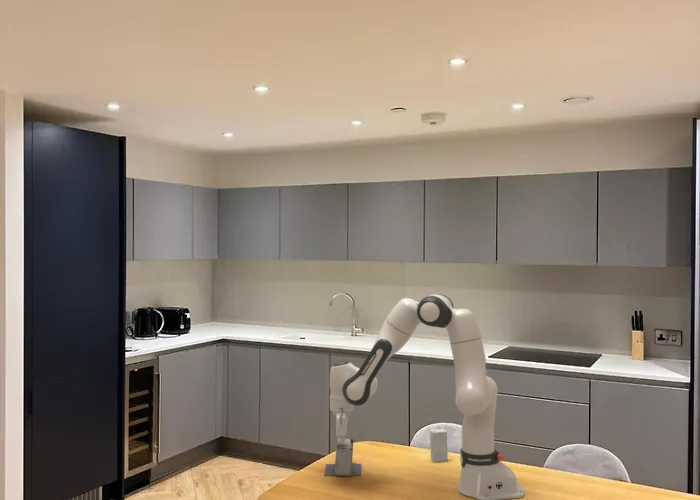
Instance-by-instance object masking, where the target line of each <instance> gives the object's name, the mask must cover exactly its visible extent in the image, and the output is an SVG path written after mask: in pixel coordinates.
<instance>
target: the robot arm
mask: <svg viewBox="0 0 700 500" xmlns="http://www.w3.org/2000/svg"><path fill="white" fill-rule="evenodd" d="M420 324H423V325H426V326H428V327H433V328H441V329H444V328H445V330H446V332H447V334H448V339H449V344H450V348H451V349H450V350H451V353H452V358H453V364H454V379H455V380H454V383H455V406H456V408H457V409H458V411H459V412H460V413H462V414H463V420H462V424H461V448H460V455H459V456H460V467H461V470H460V477H459V483H458V487H457V490H458V492H459V493H461V494H462V495H464V496H467V497H469V498H475V499H476V500H508V499H518V498H523V497H524V496H525V490H524V487H523V486H522V485H521V484H520V483H519V482H518V481H517V476H516V474H515V473H514V471H513V469H512V468H511V467H508V466H507V465H506V464H505V463H503V462H502V461H503V460H504V456H503V454H502V453H500V451H498V450H497V449H496V448H495V420H496V413H497V411H496V410H497V401H498V390H499V388H498V385H497V383H496V381H495V380H494V379H493V378H492V377H490V376H487V374H486V373H487V370H486V368H487V367H486V364H487V358H486V354H485V353H486V352H485V348H484V344H483V340H482V334H481V332H480V331H481V330H480V328H479V323H478V321H477V320H476V317H475V314H474V313H473V312H472V311H471V310H469V309H467V308H454V304H453V302H452V300H451V299H450V297H447V295H445V294H442V293H441V294H435V293H433V294H430V295H428V296H425V297H423V298H422V299H421V300H420V301H416V300H415V299H413V298H409V297H404V298H401V299H400V300H399V301H398V302H397V303H396V305H395V306H394V307H393V308H392V310H391V311H390V312H389V313H388V315H387V317H386V318H385V320H384V321H383V324H382V325H381V327H380V330H379V332H378V334H377V337H376V339H375V341H374V344H373V345H372V348H371V350H370V352H369V353H368V355H367V356H366V358H365V360H364V361H363V363H362V364H361V366H360V367H358V366H356V365H354V364H353V363H352V362H351V361H340V362H336V363H334V364H333V365H332V366H331V368H330V371H329V389H330V394H329V410H330V412H332V415H333V416H335V427H336V428H335V429H336V430H335V435H336V437H337V438H340V443H344V440H345V439H346V438H345V437H347V430H348V420H349V419H348V418H349V416H350V415H351V412H352V411H353V410H354V406H361V405H364V404H365V403H366V402H367V401H368V400H369V398H371V397H372V396H373V395H374V394H375V393H376V392H377V390H378V388H379V380H378V378H377V375H378V373H380V371H381V368H382V367H383V366H384V365H385V363H386V362H387V361H388V360H389V359H390V358H391V357H393V356H394V355H395V354H396V353H398V352H399V351H400V350H401V349H402V348H403V347H404V346H405V345H406V344H407V343H408V341H409V340H410V339H411V337H412V335H413V334H414V332H415V331H416V329H417V327H419V325H420Z"/></svg>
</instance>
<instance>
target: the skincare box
mask: <svg viewBox="0 0 700 500" xmlns="http://www.w3.org/2000/svg"><path fill="white" fill-rule="evenodd" d="M429 442H430V443H429V444H430V445H429V447H430V459H431V461H432V462H433V463H440V462H441V463H442V462H448V460H449V459H448V454H449V453H448V431H447V430H446V429H444V428H437V429H429Z"/></svg>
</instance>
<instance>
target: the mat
mask: <svg viewBox="0 0 700 500" xmlns="http://www.w3.org/2000/svg"><path fill="white" fill-rule="evenodd" d="M323 476H324V477H356V476H357V477H361V476H362V463H352V468H351V475H336V474H335V463H325V468H324V474H323Z"/></svg>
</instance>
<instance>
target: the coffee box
mask: <svg viewBox="0 0 700 500" xmlns="http://www.w3.org/2000/svg"><path fill="white" fill-rule="evenodd" d="M353 452H354V438H345V440H344V443H340V438H339V437H337V443H336V449H335V461H334V464H335V474H336V475H351V468H352V464H353V456H354V455H353Z"/></svg>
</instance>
